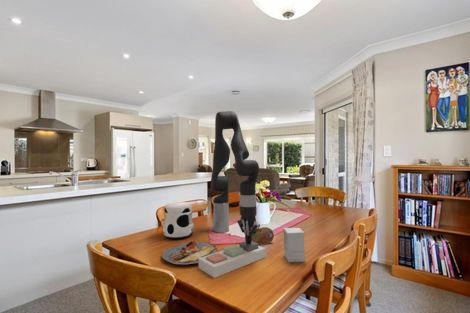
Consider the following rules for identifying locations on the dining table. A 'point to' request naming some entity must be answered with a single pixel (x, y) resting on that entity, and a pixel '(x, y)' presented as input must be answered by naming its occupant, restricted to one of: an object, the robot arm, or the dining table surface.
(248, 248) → the charcoal key
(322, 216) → the dining table surface
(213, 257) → the terracotta key
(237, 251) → the sage key
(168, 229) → the milk container
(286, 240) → the supplement box
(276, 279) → the dining table surface
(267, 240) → the brown rounded lump
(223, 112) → the robot arm
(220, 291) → the dining table surface
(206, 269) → the key board
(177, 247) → the food plate
